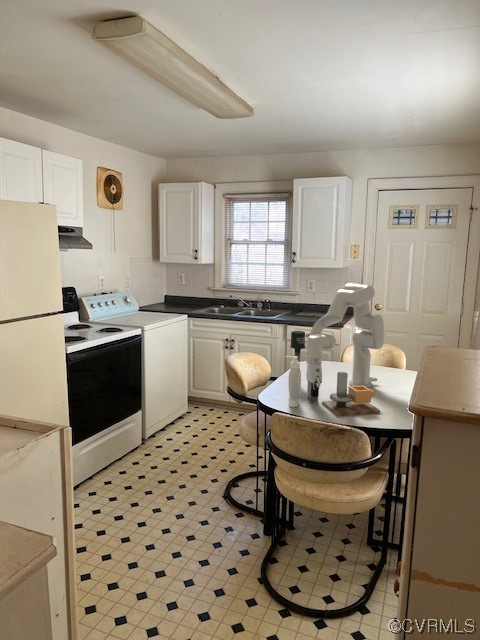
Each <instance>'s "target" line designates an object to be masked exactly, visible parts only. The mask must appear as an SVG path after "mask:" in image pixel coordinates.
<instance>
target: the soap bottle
mask: <svg viewBox="0 0 480 640" xmlns="http://www.w3.org/2000/svg"><path fill="white" fill-rule="evenodd" d="M285 358H290V359H292V360H291V362H290V369H289V373H288V393H289V395H288V396H289V398H288V404H287V405H288V407H290V408H296V407H298V406H299V405H300V393H301V386H302V385H301V382H302V375H301V374H302V373H301V372H302V371H301V367H300V365H301V363H300V362H298V360H297V359H298V357H297V356H295V355H294V356H292V355H285Z"/></svg>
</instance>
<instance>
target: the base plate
mask: <svg viewBox="0 0 480 640" xmlns="http://www.w3.org/2000/svg"><path fill="white" fill-rule="evenodd" d="M321 404H322V405H323V406H324V407H325V408H326V409H327V410H328V411H330V412H331V413H332V414H334V415H335V416H336V417H338V418H339V417H351V416H352V417H353V416H363V415H364V416H365V415H366V416H367V415H378V414H381V410H380V408H378V407H376V406H375V405H373V404H372V403H371V402H368V403H354V402H353V401H351V402H346V408H338V407H336V401H333V400H322V401H321Z"/></svg>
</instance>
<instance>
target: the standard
mask: <svg viewBox="0 0 480 640" xmlns="http://www.w3.org/2000/svg"><path fill="white" fill-rule="evenodd" d="M336 374H337V375H336V376H337V377H336V380H337V381H336V392H332V393H331V394H330V395H329V399H330V401H336V407H338V408H346V402H351V401H353V396H352V395H350V394H348V379H349V377H348V376H349V373H348V372H345V371H339V372H337V373H336Z"/></svg>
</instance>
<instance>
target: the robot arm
mask: <svg viewBox="0 0 480 640" xmlns="http://www.w3.org/2000/svg"><path fill="white" fill-rule="evenodd" d="M342 288H343V289H339V290H337V292H336V293H335V294H334V297H333V299H332V301H331V303H330V306H329V308H328V310H327V313H326V314H324V315H322V317H320V318H319V319H318V320H317V321H316V322H315V323H314V324H313V326H312V328H311V330H310V333H309V335H308V337H307V338H306V339H307V341H306V342H307V343H306V345H307V346H306V364H307V365H306V381H307V386H308V381H310V382H311V383H312V384H313V389H312V397H318V398H319V396H320V395H319V394H320V393H319V392H320V391H319V390H320V387H321V384H322V383H323V370H322V369H323V368H322V362H323V350H331V349H334V347H335V346H336V344H337V339H336V337H335V336H333V335H332V334H329V333H328V334H327V333H323V330H324V329H325V328H328V327H329V326H332V325H334V324H337V323H341V322H342V321H343V320H344V317H345V315H346V312H347V309H348V307H352V308H353V320H354V326H355V327H356V328H358V329H357V330H355V331H354V332H353V334H352V345H353V356H352V357H353V358H352V377H351V380H349V382H348V383H349V385H350V386H365V387H367V388H371V387H372V386H373V382H378V378H377V377H373V376H372V377H371V376H370V375H371V374H370V373H371V359H372V358H371V357H372V354H371V352H370V350H381V349H382V348H383V346H384V343H385V325H384V323H385V322H384V319H383V318H384V317H383V316H382V315H381V314H380V313H376V312H371V310H370V301H372V300H373V298H374V297H375V293H376V291H375V288H374V287H373V286H372V285H370V284H363V283H346V284H345V285H343V287H342ZM315 382H317V383H315ZM316 384H317V385H316ZM315 385H316V386H315ZM307 394H308V387H307Z"/></svg>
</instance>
